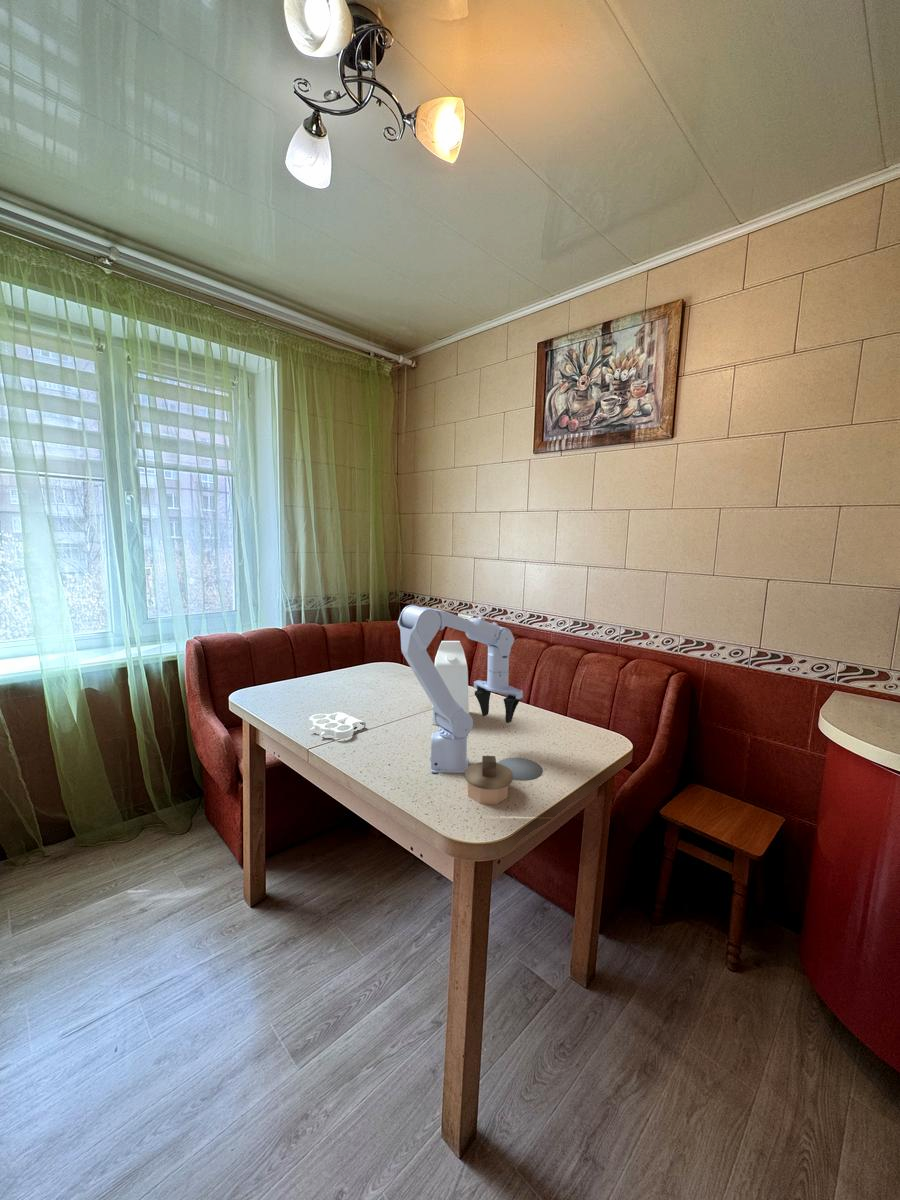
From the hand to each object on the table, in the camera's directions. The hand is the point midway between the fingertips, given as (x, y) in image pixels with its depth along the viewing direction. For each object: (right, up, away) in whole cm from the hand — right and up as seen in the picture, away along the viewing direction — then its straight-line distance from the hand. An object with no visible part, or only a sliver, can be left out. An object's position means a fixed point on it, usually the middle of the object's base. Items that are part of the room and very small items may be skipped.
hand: (496, 718), depth 123 cm
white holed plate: (-48, -8, +16) cm, 52 cm away
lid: (-4, -8, -20) cm, 22 cm away
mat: (+5, -11, -8) cm, 15 cm away
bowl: (-4, -12, -20) cm, 24 cm away
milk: (-13, -7, +26) cm, 30 cm away
